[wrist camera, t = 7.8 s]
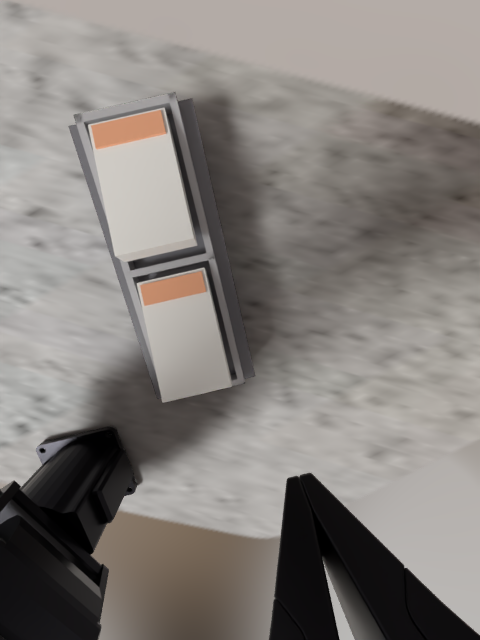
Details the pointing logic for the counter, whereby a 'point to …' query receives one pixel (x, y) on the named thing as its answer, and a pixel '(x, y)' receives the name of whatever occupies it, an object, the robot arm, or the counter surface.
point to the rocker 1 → (142, 185)
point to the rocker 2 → (184, 335)
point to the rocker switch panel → (204, 223)
